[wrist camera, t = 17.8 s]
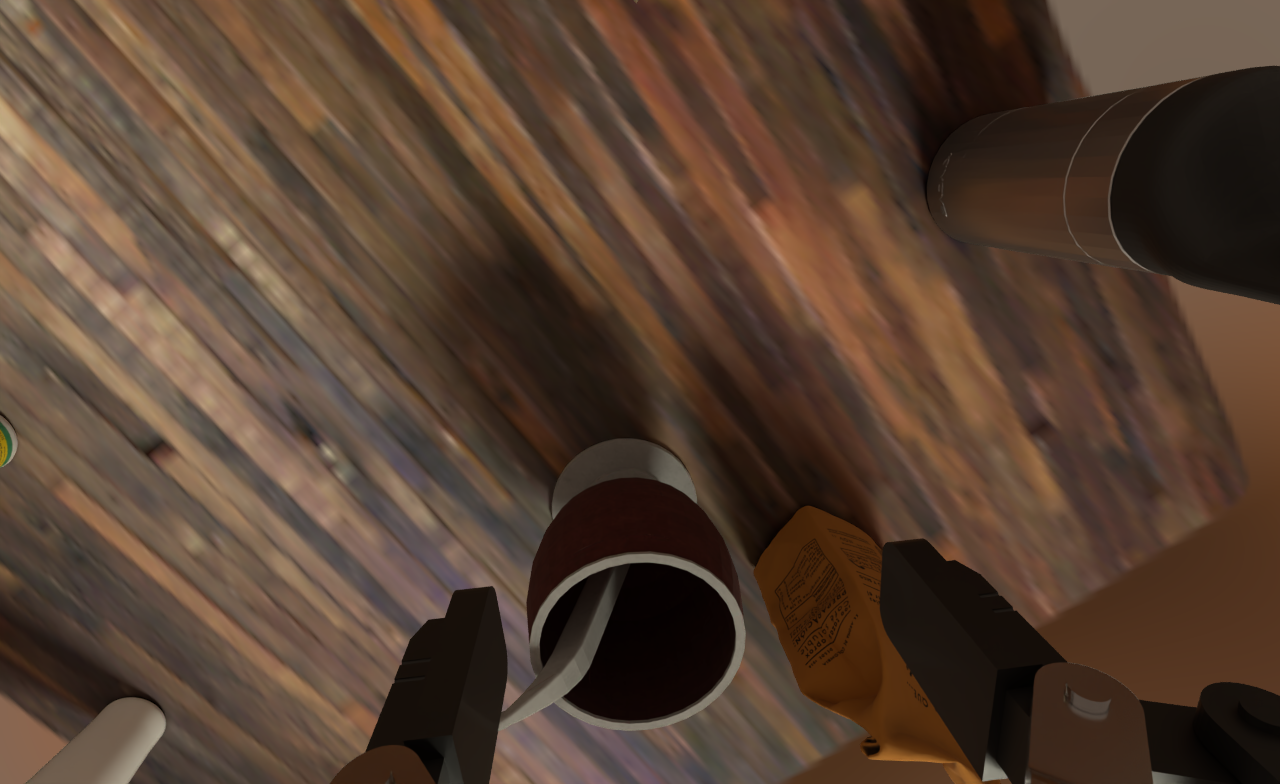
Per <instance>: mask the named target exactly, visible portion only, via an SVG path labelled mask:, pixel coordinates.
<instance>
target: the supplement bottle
mask: <svg viewBox="0 0 1280 784" xmlns="http://www.w3.org/2000/svg"><path fill="white" fill-rule="evenodd" d="M17 446H18V440H17V435H16V433H15V431H14V429H13V427H12V426H11V425H10V423H9V422H8V421H7V420H6V419H5V418H4V417H2V416H1V415H0V468H1V467H3V466H5V465H6V464H7V463H9V462H10V461H11V460H12V459H13V457H14V455H15V453H16V450H17Z"/></svg>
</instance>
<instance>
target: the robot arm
mask: <svg viewBox="0 0 1280 784" xmlns="http://www.w3.org/2000/svg"><path fill="white" fill-rule="evenodd" d="M927 201H928V205H929V209H930V212H931V214H932V216H933V218H934V220H935V222H936V224H937V225H938V226H939V227H940V228H941V230H942V231H943V232H944V233H946V234H947V235H949V236H950V237H952V238H953V239H956V240H958V241H961V242H964V243H970V244H976V245H982V246H988V247H994V248H999V249H1005V250H1011V251H1017V252H1023V253H1030V254H1036V255H1042V256H1048V257H1054V258H1061V259H1067V260H1073V261H1079V262H1086V263H1092V264H1098V265H1104V266H1110V267H1119V268H1125V269H1131V270H1137V271H1143V272H1150V273H1156V274H1162V275H1169V276H1173V277H1174V278H1176V279H1178V280H1180V281H1182V282H1184V283H1186V284H1189V285H1193V286H1196V287H1200V288H1204V289H1208V290H1214V291H1218V292H1223V293H1229V294H1234V295H1239V296H1244V297H1248V298H1252V299H1257V300H1261V301H1265V302H1270V303H1274V304H1279V305H1280V66H1265V67H1255V68H1247V69H1242V70H1236V71H1231V72H1225V73H1219V74H1215V75H1209V76H1203V77H1198V78H1192V79H1187V80H1181V81H1175V82H1170V83H1164V84H1159V85H1154V86H1148V87H1143V88H1136V89H1131V90H1125V91H1119V92H1113V93H1107V94H1102V95H1096V96H1090V97H1084V98H1078V99H1073V100H1067V101H1061V102H1055V103H1049V104H1044V105H1038V106H1032V107H1025V108H1019V109H1013V110H1008V111H1002V112H996V113H990V114H986V115H983V116H979V117H976V118H974V119H972V120H970V121H968V122H966V123H965V124H963V125H961V126H960V127H959V128H958V129H956V130H955V131H954V132H953V133H952V134H951V135H950V136H949V137H948V138H947V139H946V141H945V142H944V143H943V144H942V145H941V147H940V149H939V150H938V152H937V154H936V156H935V157H934V160H933V162H932V165H931V168H930V171H929V175H928V181H927ZM880 615H881V619H882V623H883V626H884V629H885V632H886V634H887V636H888V637H889V639H890V641H891V642H892V644H893V645H894V647H895V648H896V650H897V651H898V653H899V654H900V656H901V657H902V659H903V660H904V662H905V664H906V665H907V667H908V668H909V670H910V671H911V673H912V674H913V676H914V677H915V679H916V680H917V682H918V683H919V685H920V687H921V688H922V690H923V691H924V693H925V694H926V696H927V697H928V699H929V700H930V702H931V703H932V705H933V706H934V708H935V710H936V711H937V713H938V714H939V716H940V717H941V719H942V720H943V722H944V723H945V725H946V726H947V728H948V730H949V731H950V733H951V734H952V736H953V737H954V739H955V740H956V742H957V743H958V745H959V746H960V748H961V749H962V751H963V753H964V754H965V756H966V757H967V759H968V760H969V762H970V763H971V765H972V766H973V768H974V769H975V771H976V772H977V774H978V776H979V777H980V779H981V780H982V781H990V780H997V779H1005V778H1009V780H1010V781H1011V783H1012V784H1280V696H1278V695H1276V694H1274V693H1272V692H1268V691H1266V690H1263V689H1260V688H1257V687H1253V686H1250V685H1245V684H1240V683H1231V682H1220V683H1214V684H1211V685H1208V686H1207V687H1205V688H1204V689H1203V690H1202V692H1201V695H1200V699H1199V702H1198V706H1197V708H1196V707H1188V706H1180V705H1173V704H1166V703H1158V702H1150V701H1144V700H1138V699H1137V697H1136V696H1135V695H1134V694H1133V693H1132V692H1131V691H1130V690H1129V689H1128V688H1127V687H1126V686H1124V685H1123V684H1122V683H1121V682H1119V681H1117V680H1116V679H1114V678H1112V677H1111V676H1109V675H1107V674H1105V673H1103V672H1101V671H1099V670H1096V669H1093V668H1090V667H1088V666H1084V665H1080V664H1074V663H1068V662H1067V661H1066V660H1065V659H1064V658H1063V657H1062V656H1061V655H1060V654H1059V653H1058V652H1057V651H1056V650H1055V649H1054V648H1053V647H1052V646H1051V645H1050V644H1049V643H1048V642H1047V641H1046V640H1045V639H1044V638H1043V637H1042V636H1041V635H1040V634H1039V633H1038V632H1037V631H1036V630H1035V629H1034V628H1033V627H1032V626H1031V625H1030V624H1029V623H1028V622H1027V621H1026V620H1025V619H1024V618H1023V617H1022V616H1021V615H1020V614H1019V613H1018V612H1017V611H1014V610H1013V607H1012V606H1011V605H1010V604H1009V603H1008V602H1007V601H1006V600H1005V599H1004V598H1003V597H1002V596H999V595H998V592H997V591H996V590H995V589H994V588H993V587H992V586H991V585H990V584H989V583H988V582H987V581H986V580H985V579H984V578H983V577H982V576H981V574H979V573H977V572H975V571H973V570H972V569H970V568H968V567H966V566H965V565H963V564H961V563H959V562H958V561H956V560H952V561H946V560H945V559H944V558H943V557H942V556H941V555H940V554H939V553H938V552H937V550H936V549H935V548H934V547H933V546H932V545H931V544H930V543H929V542H928V541H927V540H925V539H914V540H905V541H896V542H887V543H886V544H885V545H884V547H883V552H882V568H881V586H880ZM506 682H507V650H506V644H505V639H504V633H503V628H502V623H501V617H500V612H499V607H498V601H497V596H496V592H495V589H494V587H493V586H490V587H481V588H472V589H464V590H456V591H454V593H453V595H452V598H451V601H450V604H449V607H448V610H447V613H446V616H445V618H439V619H431V620H428V621H427V622H426V623H425V624H424V625H423V626H422V627H421V628H420V629H419V631H418V632H417V633H416V634H415V635H414V636H413V637H412V638H411V639H410V641H409V644H408V646H407V649H406V651H405V654H404V656H403V659H402V665H400V666H399V669H398V671H397V674H396V676H395V683H394V684H392V686H391V689H390V692H389V694H388V697H387V699H386V702H385V704H384V707H383V709H382V712H381V714H380V717H379V719H378V722H377V724H376V727H375V729H374V732H373V734H372V737H371V739H370V742H369V744H368V747H367V749H366V752H365V753H363V754H361V755H359V756H357V757H356V758H355V759H353V760H352V761H350V762H349V763H348V764H347V765H345V766H344V767H343V768H342V769H341V770H340V771H339V772H338V773H337V774H336V775H335V777H334V778H333V779H332V781H331V782H330V784H489V781H490V775H491V769H492V763H493V757H494V752H495V746H496V740H497V734H498V728H499V723H500V717H501V711H502V705H503V699H504V694H505V688H506Z"/></svg>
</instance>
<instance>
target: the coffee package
mask: <svg viewBox="0 0 1280 784" xmlns="http://www.w3.org/2000/svg"><path fill="white" fill-rule="evenodd" d="M882 552H883V551H882V550H881V549H880V548H879V547H878V546H877V545H876V543H875V542H874V541H873V540H872V538H871V537H870V536H869V535H867V534H866V533H865V532H863V531H862V530H860V529H859V528H857V527H856V526H854V525H852V524H850V523H848V522H847V521H844V520H842V519H840V518H838V517H835V516H833V515H831V514H829V513H827V512H825V511H823V510H820V509H818V508H815V507H812V506H804V507H802V508H801V509H799V510H798V511H797V512H796V513H795V515H794V516H793V517H792V518H791V520H790V521H789V522H788V523H787V524H786V525H785V526H784V527H783V528H782V529H781V530H780V531H779V532H778V534H777V535H776V537H775V538H774V539H773V540H772V542H771V543H770V545H769V546H768V547H767V548H766V549H765V551H764V552H763V554H762V555H761V557H760V559H759V561H758V563H757V565H756V567H755V569H754V576H755V578H756V580H757V583H758V585H759V587H760V590H761V593H762V597H763V599H764V601H765V604H766V607H767V610H768V613H769V616H770V620H771V623H772V625H773V626H774V627H775V628H776V629H777V631H778V635H779V640H780V643H781V645H782V647H783V649H784V651H785V653H786V656H787V658H788V660H789V662H790V664H791V666H792V670H793V673H794V676H795V678H796V681H797V683H798V686H799V688H800V691H801V692H802V693H803V695H805V696H806V697H808V698H809V699H810V700H812V701H813V702H815V703H817V704H818V705H820V706H822V707H824V708H826V709H829V710H830V711H832V712H835V713H837V714H839V715H841V716H843V717H845V718H848V719H851V720H852V721H854V722H855V723H857V724H858V725H860V726H861V727H863V728H864V729H865V730H866V731H867V732H868V733H869V734H870V735H871V737H867V738H866V739H865V740H864V741H863V742H862V743H861V745H860V747H861V752H862V753H863V754H865V755H866V756H867V757H868V758H869V759H874V760H896V761H926V762H938V763H943V766H944V768H945V770H946V772H947V773H948V775H949V777H950V778H951V780H952V781H953V782H954V784H1001V783H1000V779H997V780H990V781H982V780H981V779H980V777H979V776H978V774H977V772H976V771H975V769H974V768H973V766H972V765H971V763H970V762H969V760H968V759H967V757H966V756H965V754H964V753H963V751H962V749H961V748H960V746H959V745H958V743H957V742H956V740H955V739H954V737H953V736H952V734H951V733H950V731H949V730H948V728H947V726H946V725H945V723H944V722H943V720H942V719H941V717H940V716H939V714H938V713H937V711H936V710H935V708H934V706H933V705H932V703H931V702H930V700H929V699H928V697H927V696H926V694H925V693H924V691H923V690H922V688H921V687H920V685H919V683H918V682H917V680H916V679H915V677H914V676H913V674H912V673H911V671H910V670H909V668H908V667H907V665H906V664H905V662H904V660H903V659H902V657H901V656H900V654H899V653H898V651H897V650H896V648H895V647H894V645H893V644H892V642H891V641H890V639H889V637H888V636H887V634H886V632H885V629H884V626H883V623H882V619H881V615H880V586H881V568H882Z"/></svg>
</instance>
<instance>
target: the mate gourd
mask: <svg viewBox="0 0 1280 784" xmlns="http://www.w3.org/2000/svg"><path fill="white" fill-rule="evenodd" d="M552 518H553V521H552V523H551V524H550V526H549V527H548V529H547V530H546V532H545V534H544V537H543V539H542V542H541V544H540V546H539V549H538V551H537V554H536V556H535V558H534V561H533V565H532V571H531V577H530V583H529V590H528V596H527V602H526V603H527V618H528V632H529V643H530V644H529V645H530V658H531V664H532V667H533V670H534V673H535V676H536V679H535V680H534V682H533V683H532V684H531V685H530V686H529V687H528V688H527V690H526V691H525V692H524V693H523V694H522V695H521V696H520V697H519V698H518V699H517V700H516V701H515V702H514V703H513V704H512V705H511V706H510V707H509V708H508V709H507V710H505V711H503V712H501V717H500V723H499V728H498V731H500V730H503V729H505V728H507V727H508V726H509V725H511V724H514V723H517V722H519V721H521V720H523V719H525V718H527V717H529V716H530V715H532V714H534V713H536V712H538V711H540V710H541V709H543V708H545V707H547V706H549V705H551V704H552V703H555V704H556V705H557V706H559V707H560V708H562V709H563V710H564V711H566V712H567V713H569V714H570V715H572V716H573V717H575V718H578V719H580V720H582V721H584V722H587V723H589V724H592V725H596V726H600V727H604V728H608V729H616V730H627V731H633V730H649V729H654V728H658V727H663V726H667V725H671V724H673V723H676V722H678V721H681V720H684V719H686V718H688V717H690V716H692V715H694V714H695V713H697V712H699V711H701V710H702V709H704V708H705V707H706V706H708V705H709V704H710V703H711V702H713V701H714V700H715V699H716V698H717V697H719V696H720V694H721V693H722V692H723V691H724V690H725V688H726V687H727V686H728V685H729V684H730V683H731V681H732V679H733V677H734V676H735V674H736V672H737V670H738V668H739V666H740V663H741V660H742V657H743V653H744V650H745V635H746V632H745V626H744V621H743V608H742V600H741V593H740V587H739V581H738V575H737V573H736V570H735V567H734V564H733V562H732V559H731V556H730V554H729V551H728V549H727V547H726V544H725V542H724V540H723V538H722V536H721V535H720V533H719V532H718V530H717V529H716V527H715V526H714V524H713V523H712V522H711V520H710V519H709V518H708V516H707V515H706V513H705V512H704V511H703V510H702V509H701V508H700V507H699V506H698V505H697V497H696V492H695V487H694V484H693V481H692V479H691V477H690V474H689V472H688V471H687V469H686V468H685V466H684V465H683V464H682V462H681V461H680V460H679V459H678V458H677V457H676V456H674V455H673V454H672V453H671V452H670V451H668V450H666V449H665V448H663V447H661V446H659V445H657V444H654V443H651V442H648V441H646V440H639V439H633V438H623V439H613V440H608V441H603V442H600V443H598V444H596V445H593V446H591V447H589V448H587V449H586V450H584V451H582V452H581V453H579V454H578V455H577V456H576V457H574V458H573V459H572V460H571V461H570V462H569V463H568V464H567V466H566V467H565V468H564V470H563V471H562V473H561V474H560V476H559V478H558V481H557V483H556V486H555V488H554V494H553V499H552Z"/></svg>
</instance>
